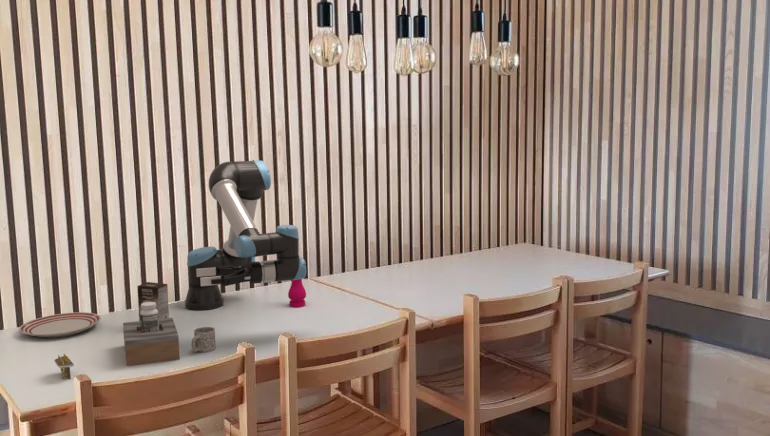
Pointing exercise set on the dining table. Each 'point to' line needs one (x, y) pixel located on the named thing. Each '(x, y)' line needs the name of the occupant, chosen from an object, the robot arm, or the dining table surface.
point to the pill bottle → (149, 317)
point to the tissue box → (151, 343)
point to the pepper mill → (297, 294)
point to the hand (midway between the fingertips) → (198, 277)
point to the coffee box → (154, 297)
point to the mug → (204, 339)
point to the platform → (64, 365)
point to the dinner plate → (60, 324)
